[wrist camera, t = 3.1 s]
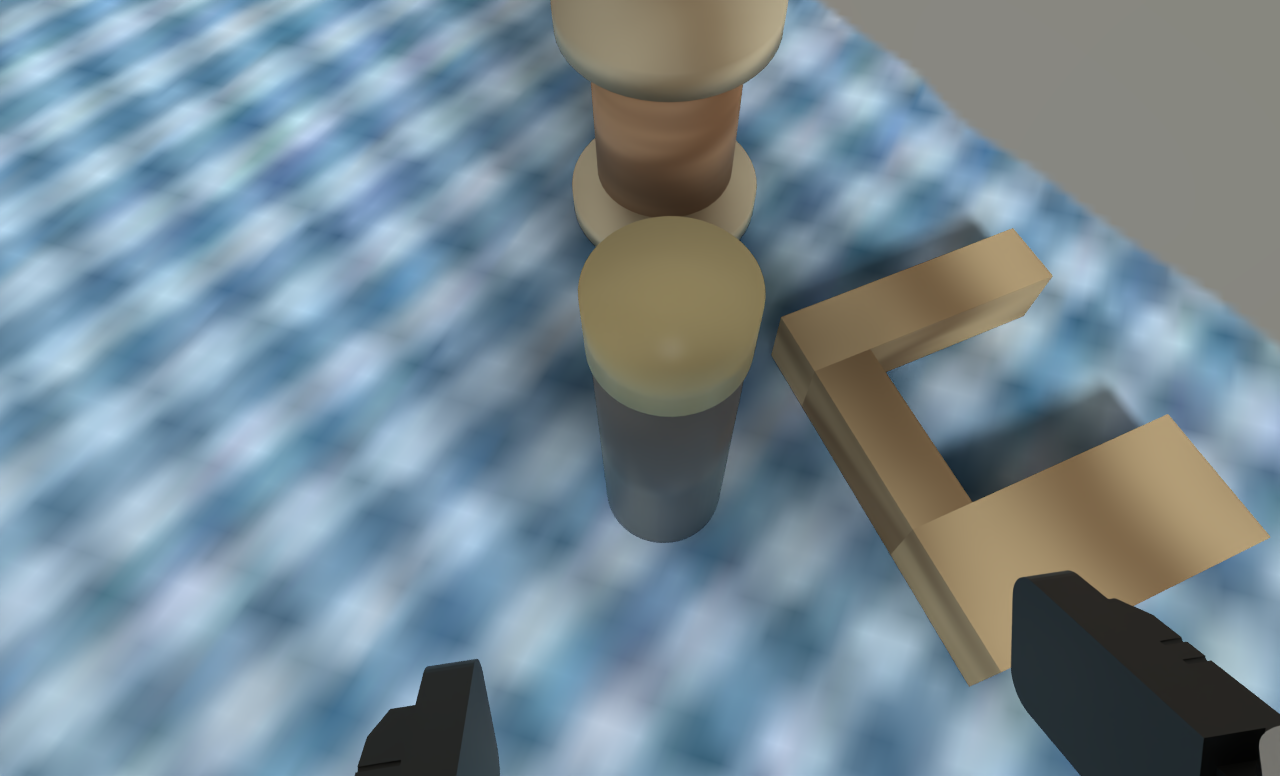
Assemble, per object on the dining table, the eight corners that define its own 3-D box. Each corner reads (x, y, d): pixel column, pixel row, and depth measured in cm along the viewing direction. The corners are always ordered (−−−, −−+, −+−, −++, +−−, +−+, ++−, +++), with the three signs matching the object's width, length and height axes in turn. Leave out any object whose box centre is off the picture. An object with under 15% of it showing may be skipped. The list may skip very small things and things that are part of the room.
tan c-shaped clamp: (969, 686, 23) (1001, 672, 21) (771, 355, 29) (781, 317, 26) (1218, 562, 25) (1270, 537, 23) (987, 270, 30) (1013, 228, 28)
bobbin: (615, 296, 30) (604, 102, 22) (548, 164, 33) (517, -47, 25) (785, 234, 31) (832, 30, 23) (705, 113, 34) (722, -103, 26)
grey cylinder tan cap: (632, 564, 25) (621, 398, 15) (586, 460, 27) (550, 251, 17) (742, 517, 26) (799, 329, 16) (691, 418, 27) (714, 194, 18)
